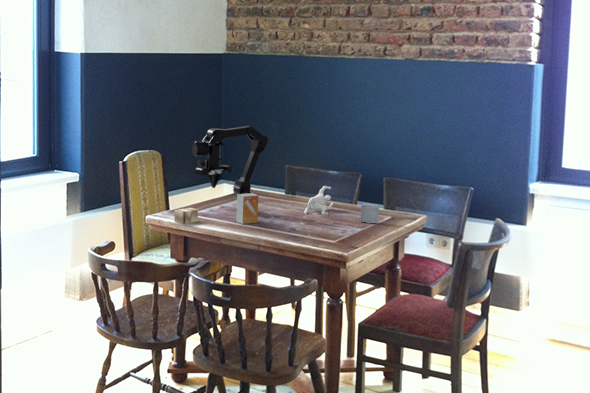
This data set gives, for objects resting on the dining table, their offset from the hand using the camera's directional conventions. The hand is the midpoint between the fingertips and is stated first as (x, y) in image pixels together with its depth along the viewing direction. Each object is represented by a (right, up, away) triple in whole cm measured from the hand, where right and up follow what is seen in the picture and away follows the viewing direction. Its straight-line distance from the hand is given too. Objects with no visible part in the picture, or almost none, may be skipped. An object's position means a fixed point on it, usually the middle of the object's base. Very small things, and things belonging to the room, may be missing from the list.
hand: (213, 187), depth 315 cm
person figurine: (+51, -12, +20) cm, 56 cm away
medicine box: (+74, -17, -2) cm, 76 cm away
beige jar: (-8, -12, -12) cm, 19 cm away
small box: (+17, -16, -11) cm, 26 cm away
